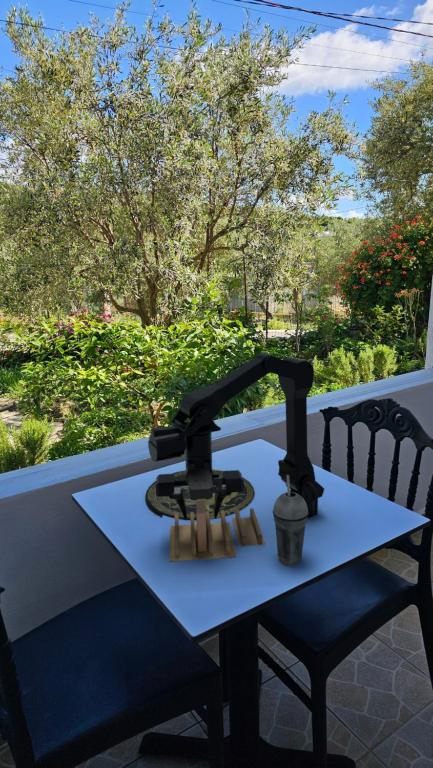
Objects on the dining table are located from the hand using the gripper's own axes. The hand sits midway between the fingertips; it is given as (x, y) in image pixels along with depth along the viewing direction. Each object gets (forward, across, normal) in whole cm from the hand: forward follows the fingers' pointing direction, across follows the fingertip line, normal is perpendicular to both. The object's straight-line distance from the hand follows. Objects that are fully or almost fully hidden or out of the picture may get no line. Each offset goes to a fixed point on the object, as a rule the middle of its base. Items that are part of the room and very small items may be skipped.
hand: (200, 518), depth 104 cm
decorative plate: (+7, +1, +24) cm, 25 cm away
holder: (+6, +11, +3) cm, 13 cm away
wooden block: (+5, 0, 0) cm, 5 cm away
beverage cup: (+6, +18, -9) cm, 21 cm away
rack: (+6, 0, 0) cm, 6 cm away
